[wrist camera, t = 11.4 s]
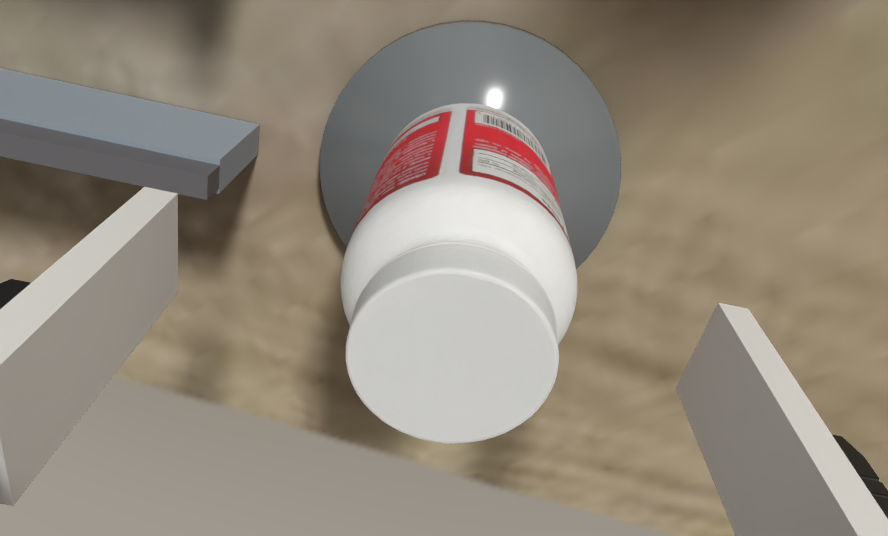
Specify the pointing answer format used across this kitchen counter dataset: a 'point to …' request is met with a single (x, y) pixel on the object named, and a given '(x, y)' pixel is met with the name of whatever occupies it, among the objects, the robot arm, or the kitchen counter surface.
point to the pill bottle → (458, 278)
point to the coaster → (487, 83)
